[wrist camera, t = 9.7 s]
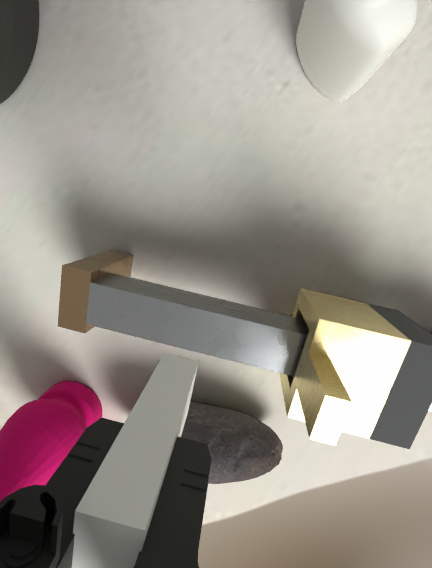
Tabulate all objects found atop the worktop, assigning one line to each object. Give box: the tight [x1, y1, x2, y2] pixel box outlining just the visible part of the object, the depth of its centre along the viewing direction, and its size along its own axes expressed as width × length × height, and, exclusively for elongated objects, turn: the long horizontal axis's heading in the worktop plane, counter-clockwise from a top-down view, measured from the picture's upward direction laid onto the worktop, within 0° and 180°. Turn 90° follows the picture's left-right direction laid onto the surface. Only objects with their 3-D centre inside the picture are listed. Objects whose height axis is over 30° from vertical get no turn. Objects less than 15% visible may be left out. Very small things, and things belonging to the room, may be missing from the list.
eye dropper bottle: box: [296, 0, 418, 103], centre depth 15 cm, size 4×6×12 cm
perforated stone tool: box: [181, 402, 283, 484], centre depth 26 cm, size 15×5×7 cm, turn 85°
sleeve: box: [280, 288, 411, 446], centre depth 18 cm, size 5×7×11 cm
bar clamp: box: [58, 250, 432, 411], centre depth 22 cm, size 30×4×7 cm, turn 78°
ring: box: [366, 303, 432, 449], centre depth 20 cm, size 2×7×7 cm, turn 168°
